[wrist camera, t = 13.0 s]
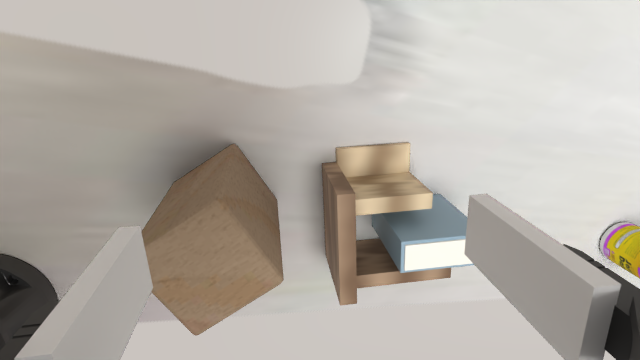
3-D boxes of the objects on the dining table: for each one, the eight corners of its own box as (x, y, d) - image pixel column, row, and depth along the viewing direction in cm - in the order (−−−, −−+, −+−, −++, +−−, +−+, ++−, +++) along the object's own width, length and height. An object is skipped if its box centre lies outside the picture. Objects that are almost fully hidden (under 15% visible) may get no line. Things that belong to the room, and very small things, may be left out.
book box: (372, 225, 58) (401, 274, 45) (372, 199, 56) (402, 243, 44) (438, 219, 59) (483, 265, 46) (439, 193, 57) (487, 234, 45)
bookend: (337, 189, 55) (350, 216, 47) (335, 147, 53) (349, 167, 45) (406, 183, 56) (432, 208, 48) (408, 142, 54) (434, 160, 46)
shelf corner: (325, 254, 58) (340, 305, 47) (321, 163, 53) (337, 195, 42) (424, 244, 60) (461, 291, 48) (428, 154, 55) (470, 183, 44)
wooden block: (278, 200, 54) (285, 282, 36) (218, 239, 55) (194, 339, 36) (234, 141, 51) (217, 198, 32) (171, 183, 52) (118, 262, 33)
